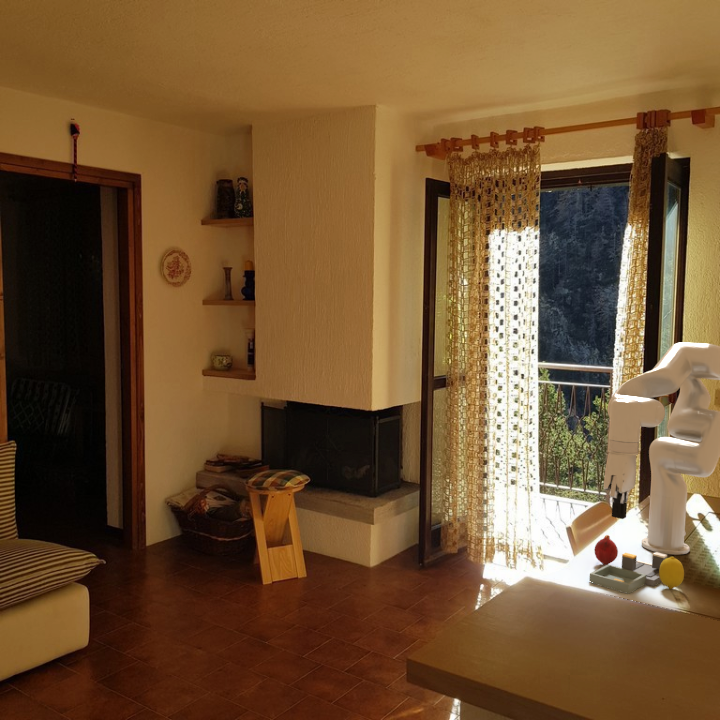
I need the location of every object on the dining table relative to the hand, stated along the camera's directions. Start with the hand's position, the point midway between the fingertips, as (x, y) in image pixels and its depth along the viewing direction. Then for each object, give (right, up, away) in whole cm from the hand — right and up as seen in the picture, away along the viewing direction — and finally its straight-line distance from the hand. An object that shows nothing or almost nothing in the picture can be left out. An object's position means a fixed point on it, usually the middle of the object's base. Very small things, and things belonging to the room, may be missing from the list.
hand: (618, 517), depth 193 cm
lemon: (+8, -15, -13) cm, 21 cm away
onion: (-3, -13, +3) cm, 14 cm away
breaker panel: (+5, -14, -5) cm, 15 cm away
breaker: (+9, -12, -5) cm, 15 cm away
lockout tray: (-4, -14, -10) cm, 18 cm away
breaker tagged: (0, -12, -6) cm, 13 cm away
